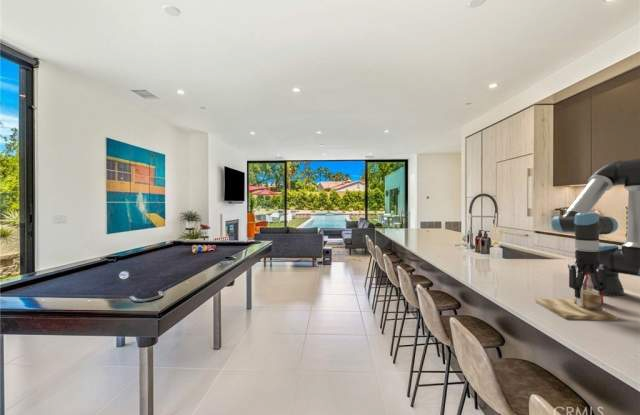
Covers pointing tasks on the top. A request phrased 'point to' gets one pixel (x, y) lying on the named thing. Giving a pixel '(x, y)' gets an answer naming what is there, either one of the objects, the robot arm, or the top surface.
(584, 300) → the block
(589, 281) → the beverage can
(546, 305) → the board
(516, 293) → the top surface
